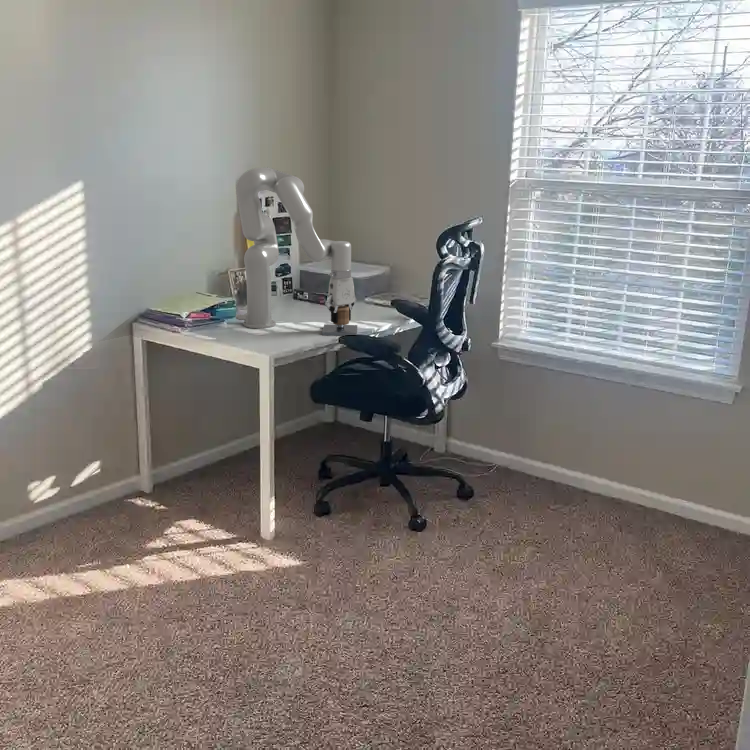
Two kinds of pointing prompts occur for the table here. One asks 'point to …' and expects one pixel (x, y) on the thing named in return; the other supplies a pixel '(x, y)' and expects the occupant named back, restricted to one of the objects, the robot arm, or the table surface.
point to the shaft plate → (339, 330)
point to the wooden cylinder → (343, 315)
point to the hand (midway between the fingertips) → (340, 320)
